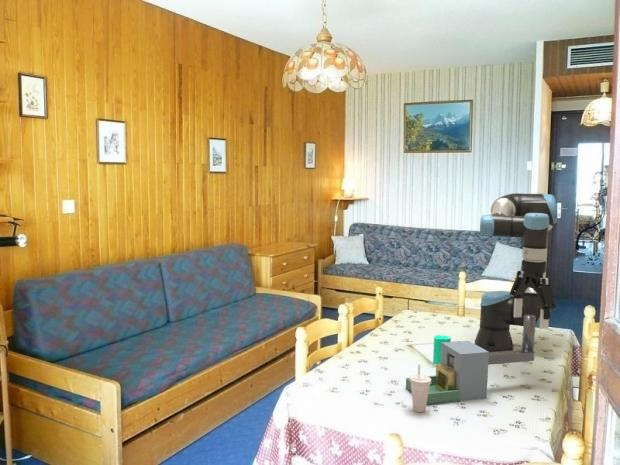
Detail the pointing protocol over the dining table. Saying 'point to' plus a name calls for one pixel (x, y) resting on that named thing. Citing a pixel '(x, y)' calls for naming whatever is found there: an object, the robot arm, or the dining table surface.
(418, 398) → the smoothie
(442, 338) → the candle
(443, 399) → the tray
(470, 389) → the bearing block
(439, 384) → the spacer
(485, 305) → the robot arm
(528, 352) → the l-shaped bracket
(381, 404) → the dining table surface
